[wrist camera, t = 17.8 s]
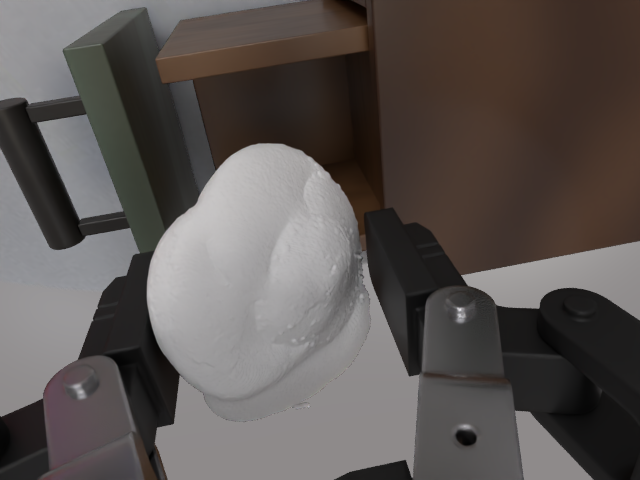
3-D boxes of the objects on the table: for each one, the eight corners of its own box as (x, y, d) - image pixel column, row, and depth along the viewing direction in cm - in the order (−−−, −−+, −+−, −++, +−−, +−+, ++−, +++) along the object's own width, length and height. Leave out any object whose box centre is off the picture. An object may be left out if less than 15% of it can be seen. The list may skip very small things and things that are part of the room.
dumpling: (109, 181, 12) (86, 224, 8) (308, 108, 13) (367, 119, 9) (218, 403, 14) (237, 511, 11) (377, 330, 15) (444, 406, 12)
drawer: (96, 221, 27) (44, 329, 20) (14, 27, 22) (-100, 74, 14) (367, 173, 28) (415, 259, 21) (351, -25, 23) (408, -6, 15)
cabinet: (341, 180, 29) (389, 289, 20) (317, -36, 23) (370, -18, 14) (532, 146, 30) (661, 237, 21) (556, -72, 24) (751, -77, 15)
